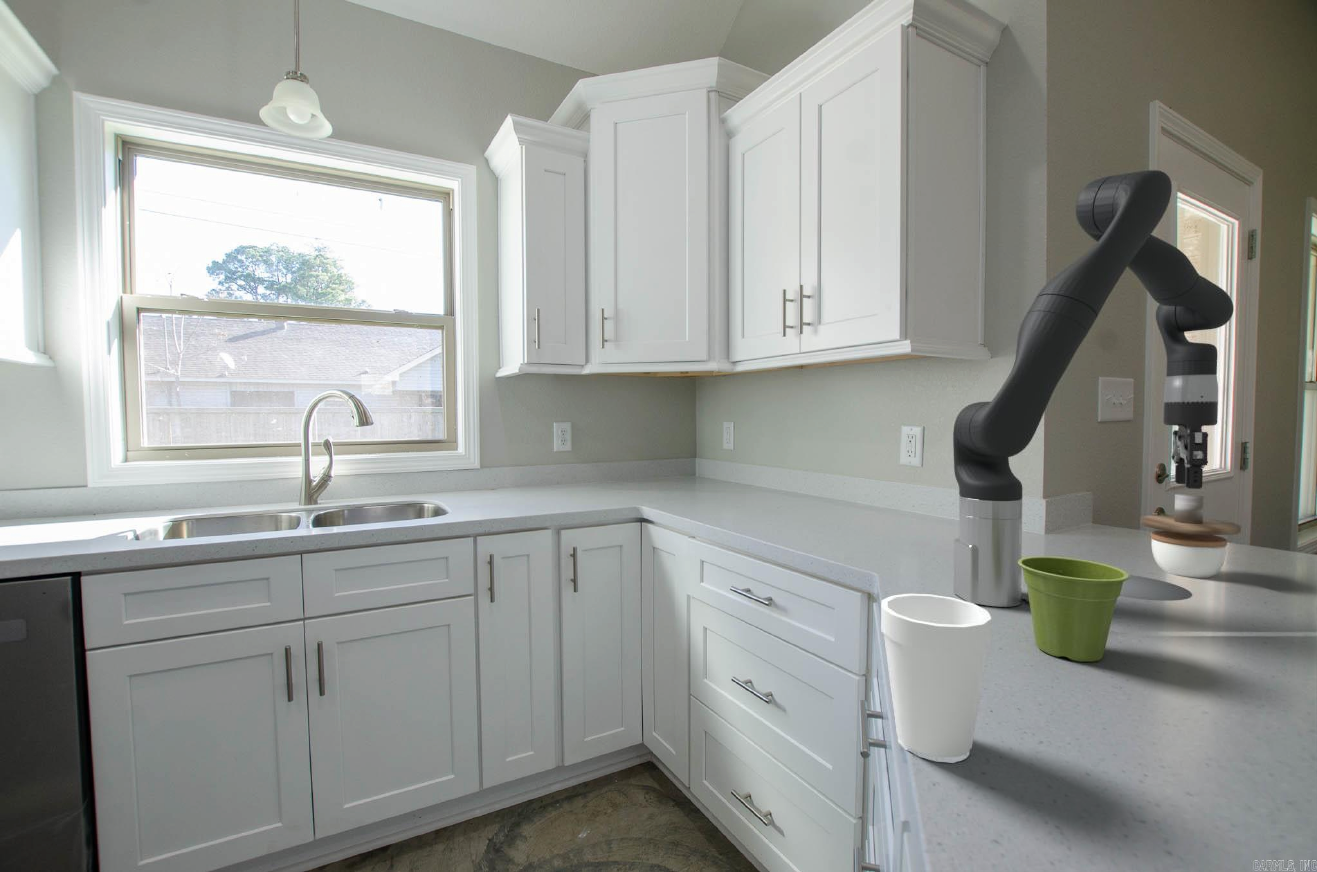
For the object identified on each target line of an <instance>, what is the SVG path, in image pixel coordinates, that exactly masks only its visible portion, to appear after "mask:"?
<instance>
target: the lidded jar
mask: <svg viewBox="0 0 1317 872" xmlns="http://www.w3.org/2000/svg"><path fill="white" fill-rule="evenodd" d="M1150 538H1151V540H1150V541H1151V543H1150V544H1151V551H1152V556H1153V559H1154V561H1155V562H1156V564H1157V566H1158V567H1159V568H1160V569H1162V571H1164V572H1165V573H1168V574H1170V575H1174V576H1179V577H1185V578H1186V577H1188V578H1193V579H1209V578H1211V577H1213V576H1214V575H1216V574H1217V573H1219V571H1221V569H1222V568H1223V566H1224V564H1225V561H1226V556H1227V545H1228V540H1227V538H1225V537H1222V536H1221V535H1205V534H1191V533H1182V532H1173V531H1166V530H1160V529H1158V530H1154V531H1153V530H1152V531H1151V533H1150Z"/></svg>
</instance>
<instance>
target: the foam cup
mask: <svg viewBox="0 0 1317 872" xmlns="http://www.w3.org/2000/svg"><path fill="white" fill-rule="evenodd" d="M880 603H881V605H880V606H881V608H880V609H881V610H880V611H881V612H880V613H881V615H880V618H881V619H880V621H881V624H880V625H881V627H880V628H881V629H880V631H881V632H882V634H883V638H884V645H885V652H886V661H887V669H888V676H889V677H888V678H889V684H890V693H891V699H892V707H893V714H894V720H895V729H896V736H897V742H898V744H899V745H900V746H901V747H902V748H903V749H904V750H905V751H906V750H907V749H908V748H911V749H913V750H916V751H918V752H922V753H923V754H927V755H931V756H935V757H959V756H962V755H966V754H967V753H968V752H969V750H970V749H972V748H973V742H974V736H975V730H976V724H977V723H976V722H977V720H978V719H977V717H978V712H979V706H980V705H979V704H980V699H981V693H982V687H983V683H984V681H983V680H984V676H985V670H986V669H985V668H986V663H987V657H988V650H989V646H991V645H992V623H993V622H992V617H991V615H990V612H989V610H987V609H985V608H983V607H981V606H979V605H978V604H973V603H970V602H967V601H966V600H963V599H958V598H955V597H949V596H944V595H943V596H942V595H937V594H931V593H929V594H928V593H903V594H902V593H901V594H895V595H890V596H888V597H886V598H884V599H881V601H880Z"/></svg>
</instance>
